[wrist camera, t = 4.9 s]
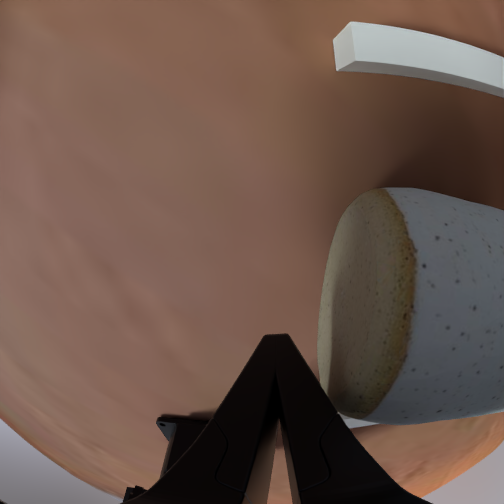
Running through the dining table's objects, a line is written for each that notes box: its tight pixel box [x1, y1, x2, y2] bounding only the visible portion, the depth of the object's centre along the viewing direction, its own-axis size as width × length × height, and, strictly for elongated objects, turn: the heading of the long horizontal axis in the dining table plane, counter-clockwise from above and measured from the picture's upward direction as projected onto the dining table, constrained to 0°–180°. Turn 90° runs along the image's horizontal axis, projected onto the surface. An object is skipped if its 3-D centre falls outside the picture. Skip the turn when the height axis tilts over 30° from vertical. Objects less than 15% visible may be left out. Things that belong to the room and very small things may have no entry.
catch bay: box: [333, 22, 504, 428], centre depth 10 cm, size 19×13×2 cm, turn 6°
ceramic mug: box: [317, 188, 504, 425], centre depth 9 cm, size 11×8×8 cm
